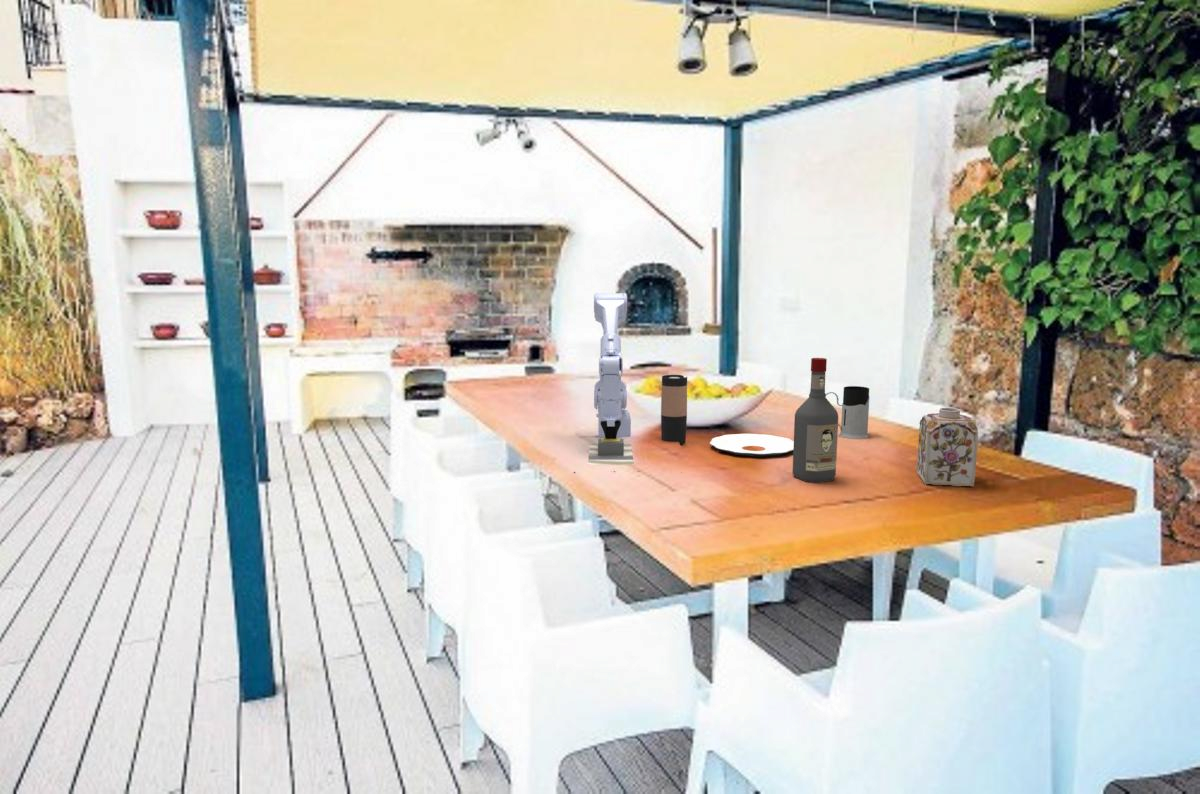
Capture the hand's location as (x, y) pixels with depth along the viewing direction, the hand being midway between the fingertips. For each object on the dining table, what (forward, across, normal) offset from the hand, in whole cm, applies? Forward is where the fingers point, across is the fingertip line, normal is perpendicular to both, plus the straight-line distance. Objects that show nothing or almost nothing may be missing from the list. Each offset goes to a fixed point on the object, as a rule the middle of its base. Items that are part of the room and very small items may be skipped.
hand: (610, 446), depth 229 cm
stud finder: (+1, +4, 0) cm, 4 cm away
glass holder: (+2, -24, +73) cm, 77 cm away
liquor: (+2, +24, +51) cm, 56 cm away
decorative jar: (+2, +26, +82) cm, 87 cm away
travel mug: (+2, -14, +19) cm, 24 cm away
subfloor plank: (+2, +4, 0) cm, 5 cm away
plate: (+3, -8, +41) cm, 42 cm away
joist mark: (+2, +9, 0) cm, 9 cm away
